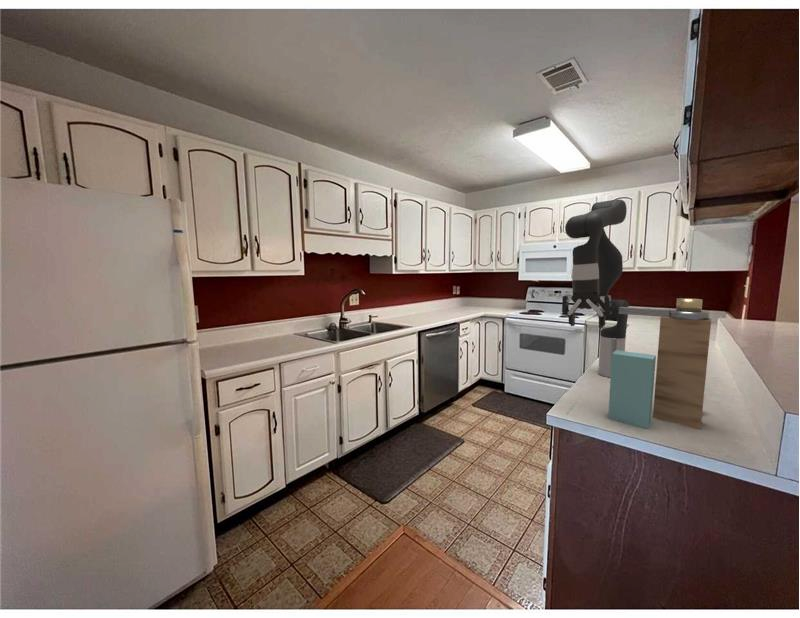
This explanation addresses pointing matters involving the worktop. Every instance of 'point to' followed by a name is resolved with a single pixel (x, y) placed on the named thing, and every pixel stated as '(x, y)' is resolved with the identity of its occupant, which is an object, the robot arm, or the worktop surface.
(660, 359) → the tall stand
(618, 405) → the tall block
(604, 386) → the worktop surface
